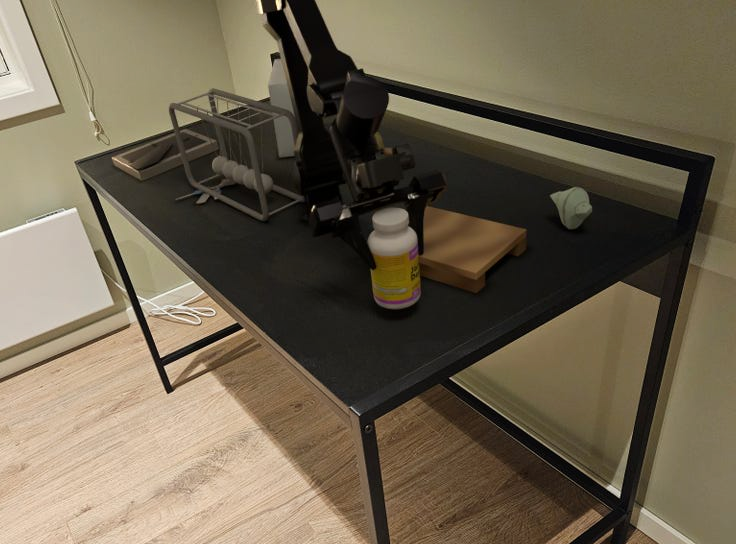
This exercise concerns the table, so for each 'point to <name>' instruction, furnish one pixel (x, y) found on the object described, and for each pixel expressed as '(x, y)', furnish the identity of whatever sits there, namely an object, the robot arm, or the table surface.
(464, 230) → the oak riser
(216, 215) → the table surface
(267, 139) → the table surface
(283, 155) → the skincare box
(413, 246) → the supplement bottle
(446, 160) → the table surface
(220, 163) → the newton's cradle
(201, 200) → the key chain
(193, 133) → the picture frame
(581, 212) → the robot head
